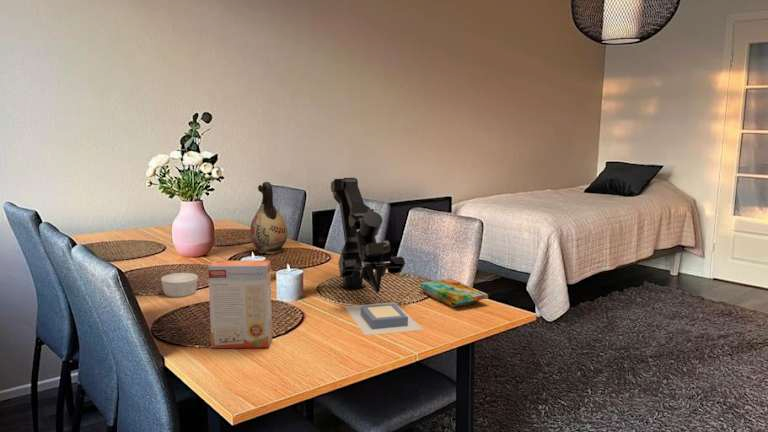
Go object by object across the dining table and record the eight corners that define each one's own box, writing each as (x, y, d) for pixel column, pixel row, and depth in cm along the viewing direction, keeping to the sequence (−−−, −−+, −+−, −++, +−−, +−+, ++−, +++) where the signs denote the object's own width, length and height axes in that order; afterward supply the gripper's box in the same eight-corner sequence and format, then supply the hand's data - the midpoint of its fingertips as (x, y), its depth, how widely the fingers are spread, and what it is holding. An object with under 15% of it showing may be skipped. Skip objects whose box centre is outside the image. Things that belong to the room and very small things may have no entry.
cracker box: (272, 339, 146) (271, 259, 143) (268, 349, 140) (267, 265, 137) (216, 339, 146) (214, 259, 142) (210, 349, 140) (207, 265, 136)
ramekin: (186, 299, 177) (186, 283, 177) (154, 297, 180) (153, 280, 179) (205, 289, 188) (204, 273, 187) (174, 287, 190) (173, 271, 190)
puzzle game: (449, 275, 192) (488, 291, 175) (449, 289, 193) (487, 306, 176) (420, 280, 187) (457, 297, 169) (419, 294, 187) (456, 312, 170)
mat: (343, 307, 172) (343, 306, 172) (394, 303, 176) (394, 302, 176) (365, 336, 149) (365, 335, 149) (423, 330, 154) (423, 329, 154)
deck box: (360, 306, 164) (372, 320, 153) (394, 303, 167) (407, 317, 156) (360, 314, 165) (372, 329, 153) (393, 311, 168) (407, 325, 156)
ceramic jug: (246, 249, 245) (244, 179, 240) (282, 246, 252) (281, 178, 247) (255, 258, 230) (253, 183, 225) (293, 255, 237) (292, 182, 232)
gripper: (341, 232, 164) (351, 280, 156) (403, 229, 170) (415, 275, 161) (335, 253, 173) (344, 299, 164) (394, 250, 179) (406, 294, 170)
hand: (377, 292), depth 165 cm, fingers closed
